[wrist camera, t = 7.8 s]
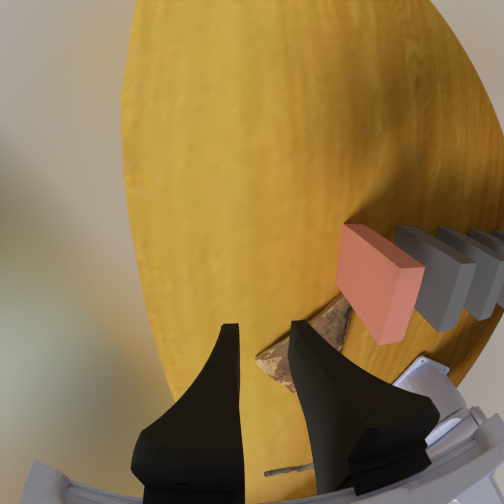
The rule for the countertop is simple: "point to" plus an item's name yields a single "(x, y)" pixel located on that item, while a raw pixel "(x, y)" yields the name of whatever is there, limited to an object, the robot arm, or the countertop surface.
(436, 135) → the countertop surface
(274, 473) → the grey brown bark strip
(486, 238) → the domino
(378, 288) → the red domino
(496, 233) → the domino
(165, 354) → the countertop surface
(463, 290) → the domino
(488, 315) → the domino
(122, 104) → the countertop surface
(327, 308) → the shard
